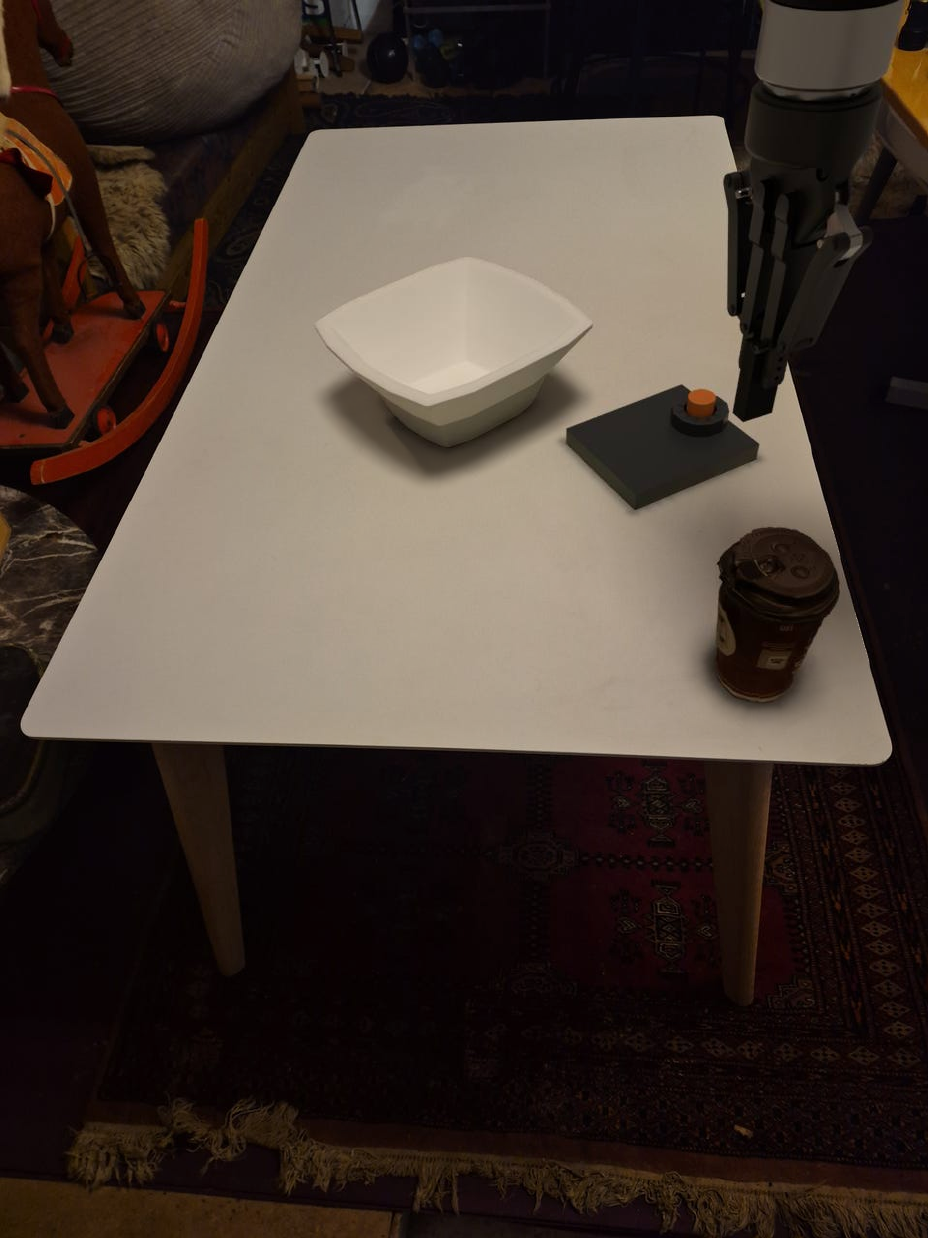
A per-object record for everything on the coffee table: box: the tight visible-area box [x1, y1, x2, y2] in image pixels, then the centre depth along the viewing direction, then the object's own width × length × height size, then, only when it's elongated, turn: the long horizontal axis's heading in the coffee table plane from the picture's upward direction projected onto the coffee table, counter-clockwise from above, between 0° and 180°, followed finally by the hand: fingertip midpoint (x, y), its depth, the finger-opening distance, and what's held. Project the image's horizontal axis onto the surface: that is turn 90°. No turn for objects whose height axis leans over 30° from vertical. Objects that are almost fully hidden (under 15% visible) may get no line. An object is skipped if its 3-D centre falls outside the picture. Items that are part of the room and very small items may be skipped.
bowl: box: [313, 255, 594, 448], centre depth 96 cm, size 24×25×10 cm
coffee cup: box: [714, 526, 841, 703], centre depth 66 cm, size 9×8×13 cm
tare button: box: [686, 388, 717, 418], centre depth 89 cm, size 3×3×2 cm
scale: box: [565, 384, 761, 510], centre depth 89 cm, size 15×13×4 cm
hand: (752, 412), depth 69 cm, fingers closed
